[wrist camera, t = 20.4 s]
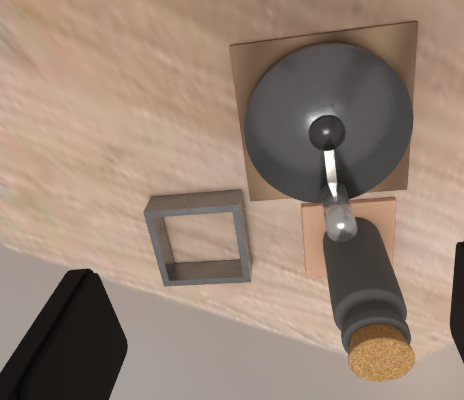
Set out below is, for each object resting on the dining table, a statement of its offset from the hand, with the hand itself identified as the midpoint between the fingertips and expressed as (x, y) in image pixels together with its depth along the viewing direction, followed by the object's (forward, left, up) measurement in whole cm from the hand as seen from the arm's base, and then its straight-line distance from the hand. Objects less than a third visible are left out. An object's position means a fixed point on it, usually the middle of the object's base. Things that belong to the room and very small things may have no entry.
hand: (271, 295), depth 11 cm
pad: (-6, +19, -29) cm, 35 cm away
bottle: (-6, +19, -29) cm, 35 cm away
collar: (+9, +17, -29) cm, 35 cm away
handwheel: (-4, +6, -29) cm, 30 cm away
